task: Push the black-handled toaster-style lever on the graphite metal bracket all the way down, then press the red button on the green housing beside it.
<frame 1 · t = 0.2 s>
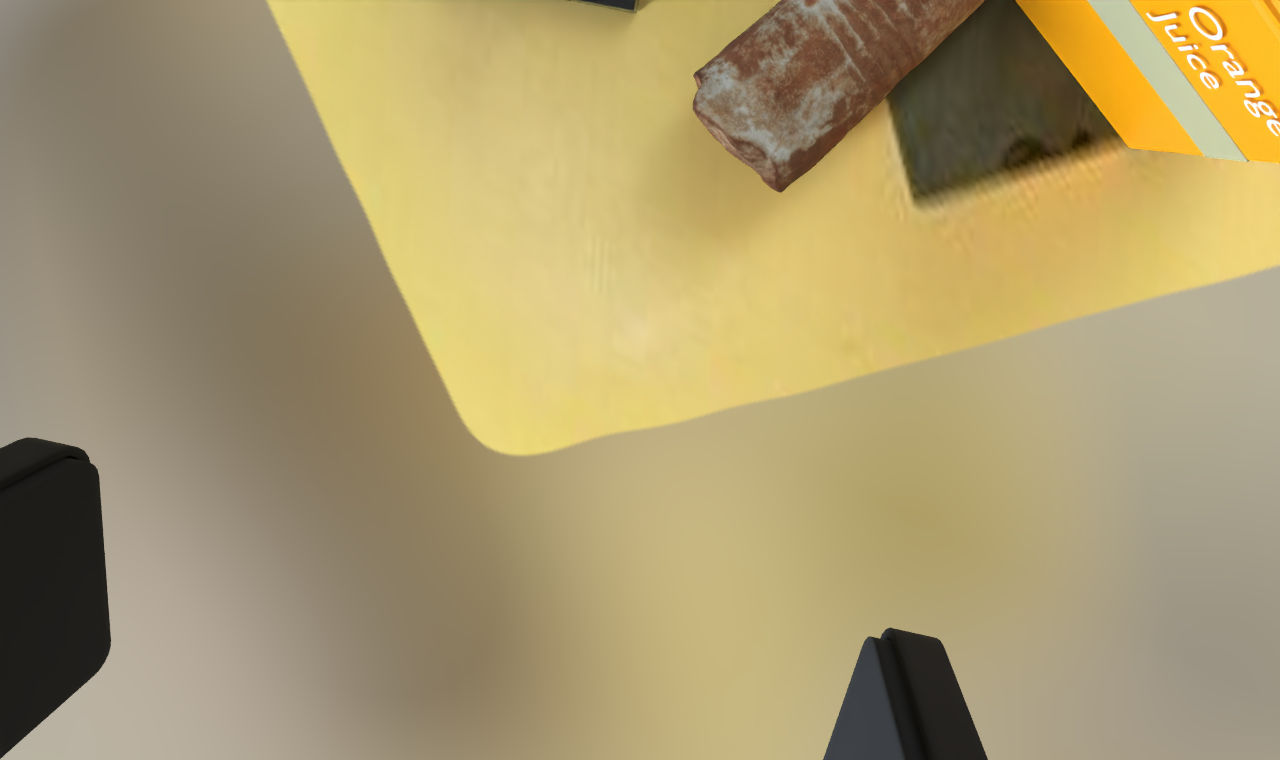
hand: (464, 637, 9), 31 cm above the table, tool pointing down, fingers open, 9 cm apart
orange juice: (1148, 6, 33), on the table
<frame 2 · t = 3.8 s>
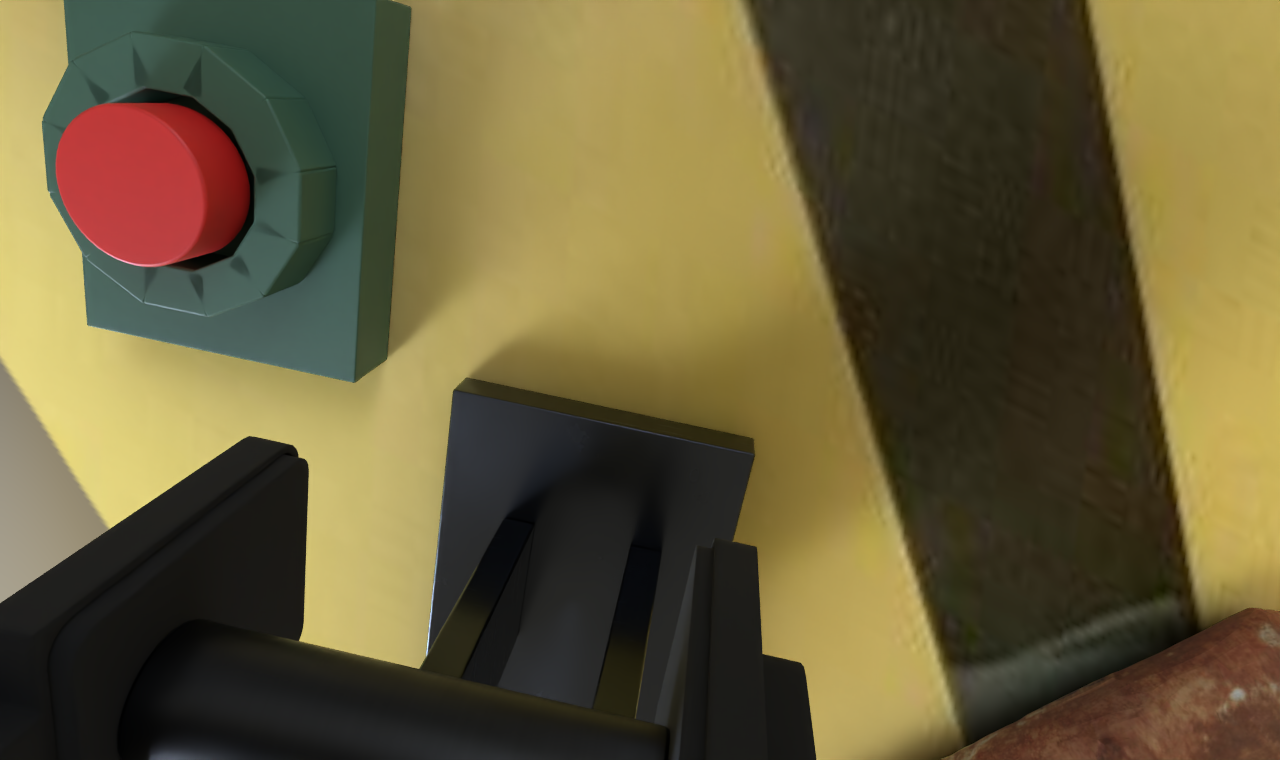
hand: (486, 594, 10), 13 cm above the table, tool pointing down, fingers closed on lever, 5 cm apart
button box: (265, 170, 22), on the table
bracket: (579, 571, 26), on the table
button: (156, 184, 18), point 4 cm above the table, slide at 0.1 cm
salami: (999, 739, 26), on the table
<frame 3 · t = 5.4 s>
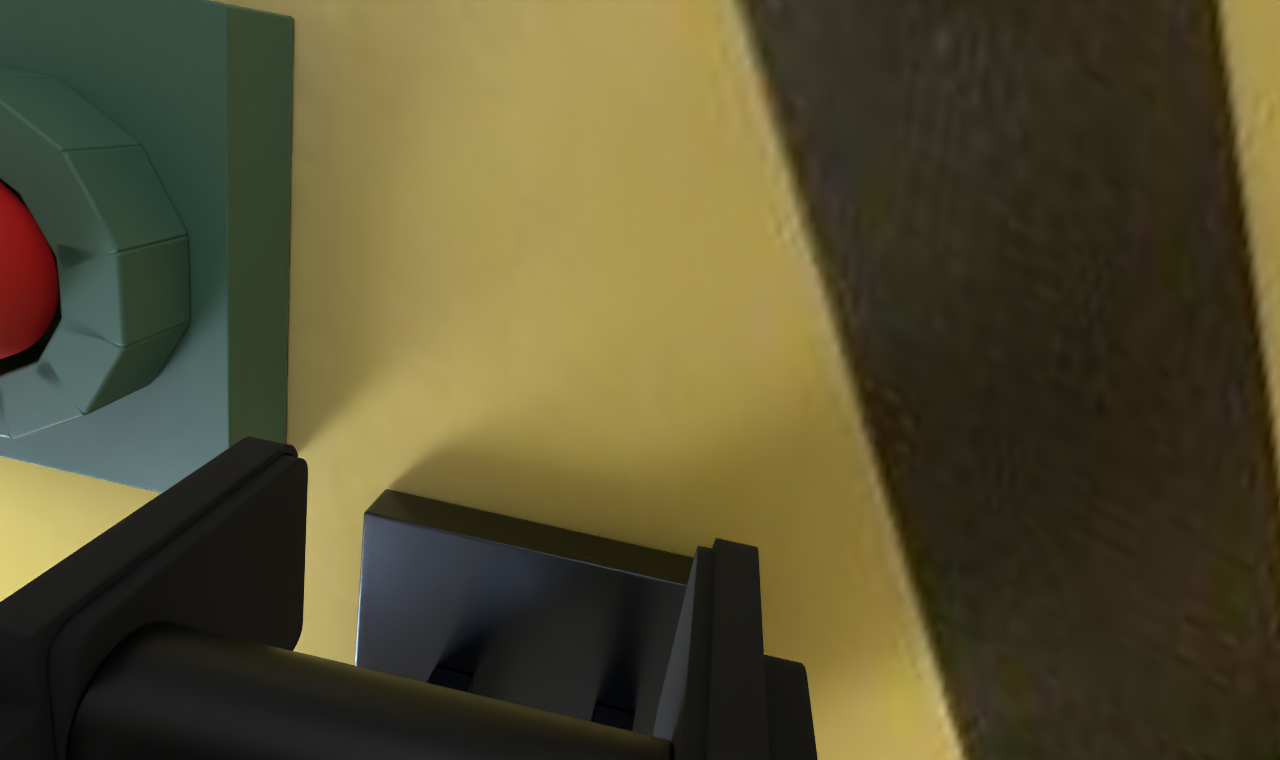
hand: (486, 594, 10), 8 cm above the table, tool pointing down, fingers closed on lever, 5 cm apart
button box: (117, 228, 17), on the table
bracket: (534, 720, 21), on the table
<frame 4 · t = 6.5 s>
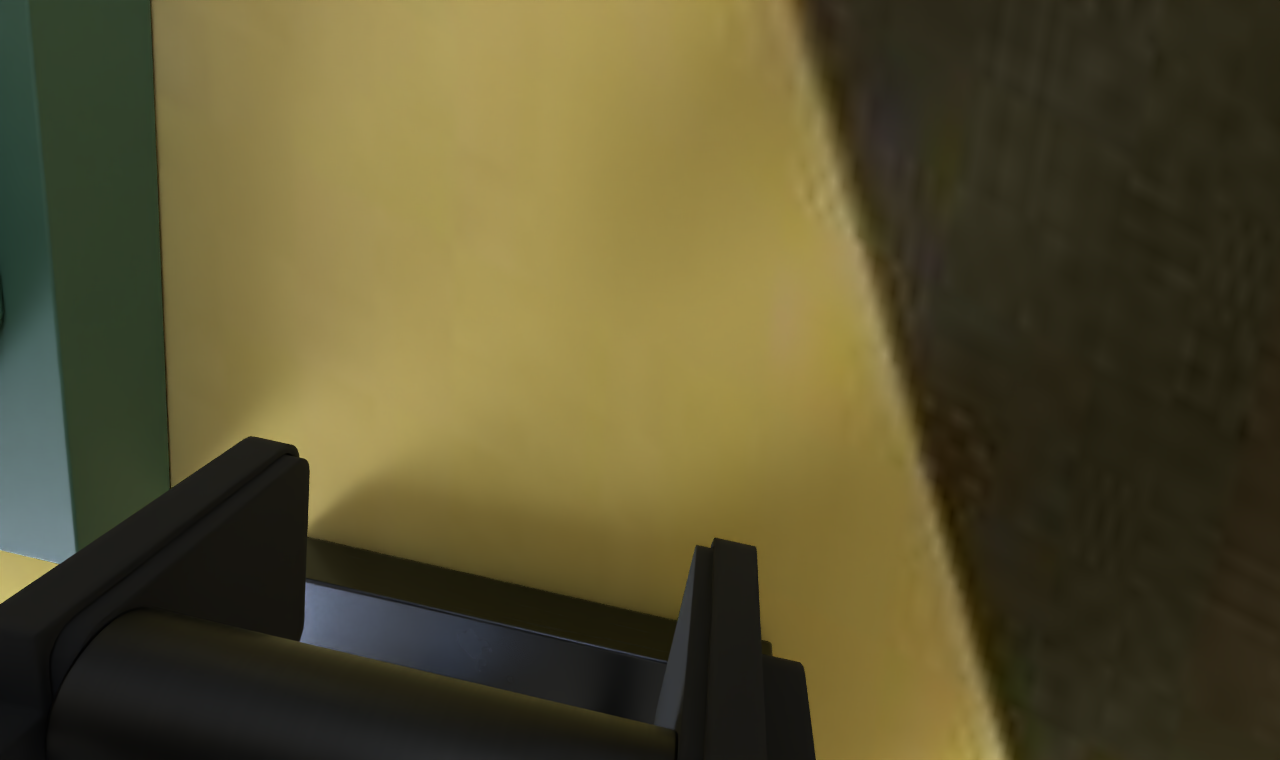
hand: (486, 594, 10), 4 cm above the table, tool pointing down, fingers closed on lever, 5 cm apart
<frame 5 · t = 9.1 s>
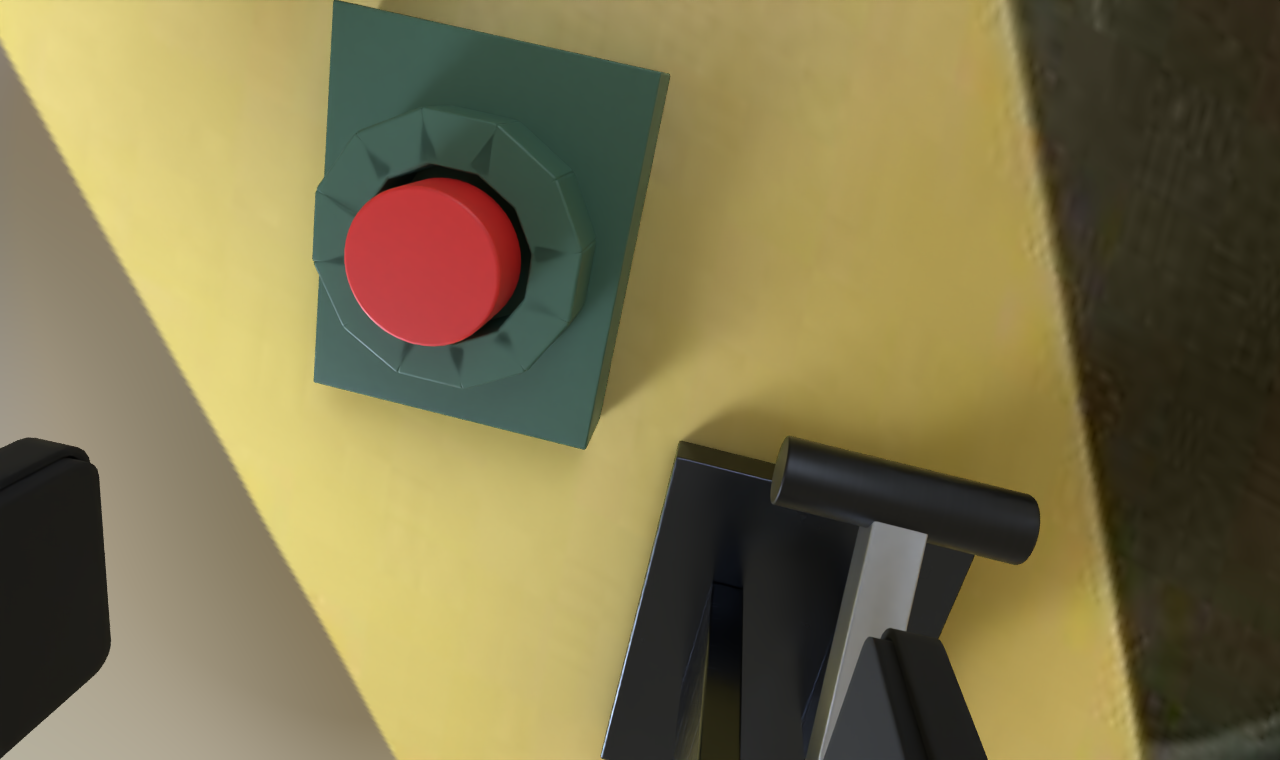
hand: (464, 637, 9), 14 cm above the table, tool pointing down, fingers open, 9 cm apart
button box: (495, 229, 22), on the table
bracket: (772, 632, 25), on the table
button: (435, 261, 18), point 4 cm above the table, slide at 0.1 cm
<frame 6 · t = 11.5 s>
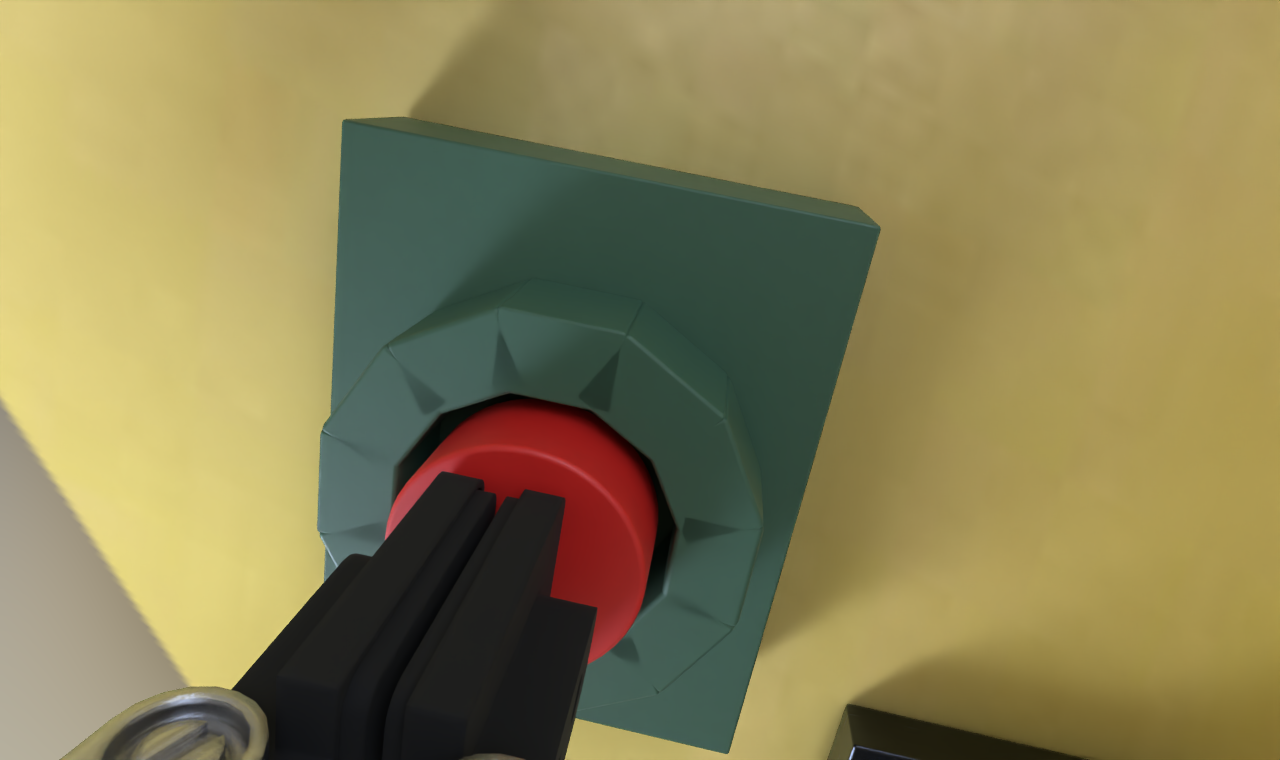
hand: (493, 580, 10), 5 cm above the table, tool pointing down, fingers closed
button box: (583, 424, 15), on the table
button: (528, 535, 11), point 4 cm above the table, slide at -0.3 cm, touching gripper
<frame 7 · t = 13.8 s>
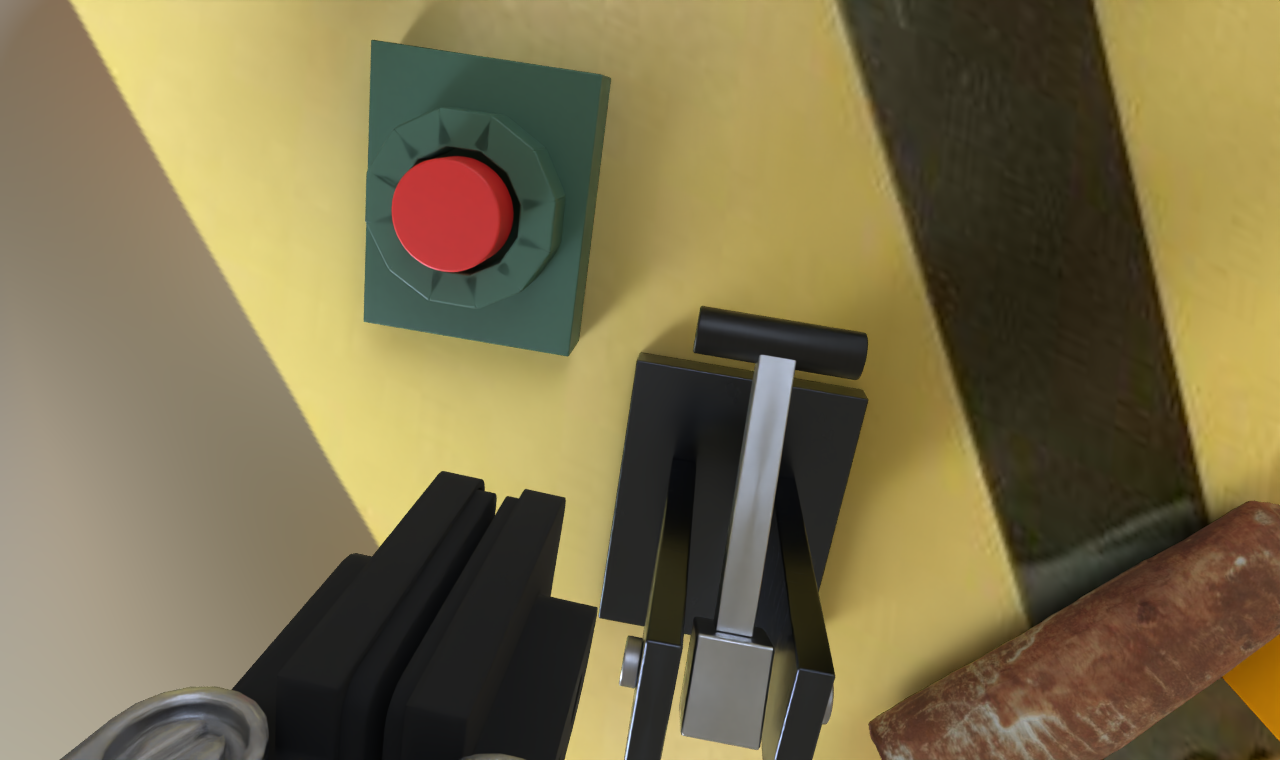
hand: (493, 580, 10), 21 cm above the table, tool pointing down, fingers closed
button box: (492, 200, 30), on the table
lever: (750, 519, 23), point 9 cm above the table, hinge at -24.2°
bracket: (724, 502, 33), on the table
button: (454, 213, 26), point 4 cm above the table, slide at 0.1 cm
salami: (1057, 623, 33), on the table
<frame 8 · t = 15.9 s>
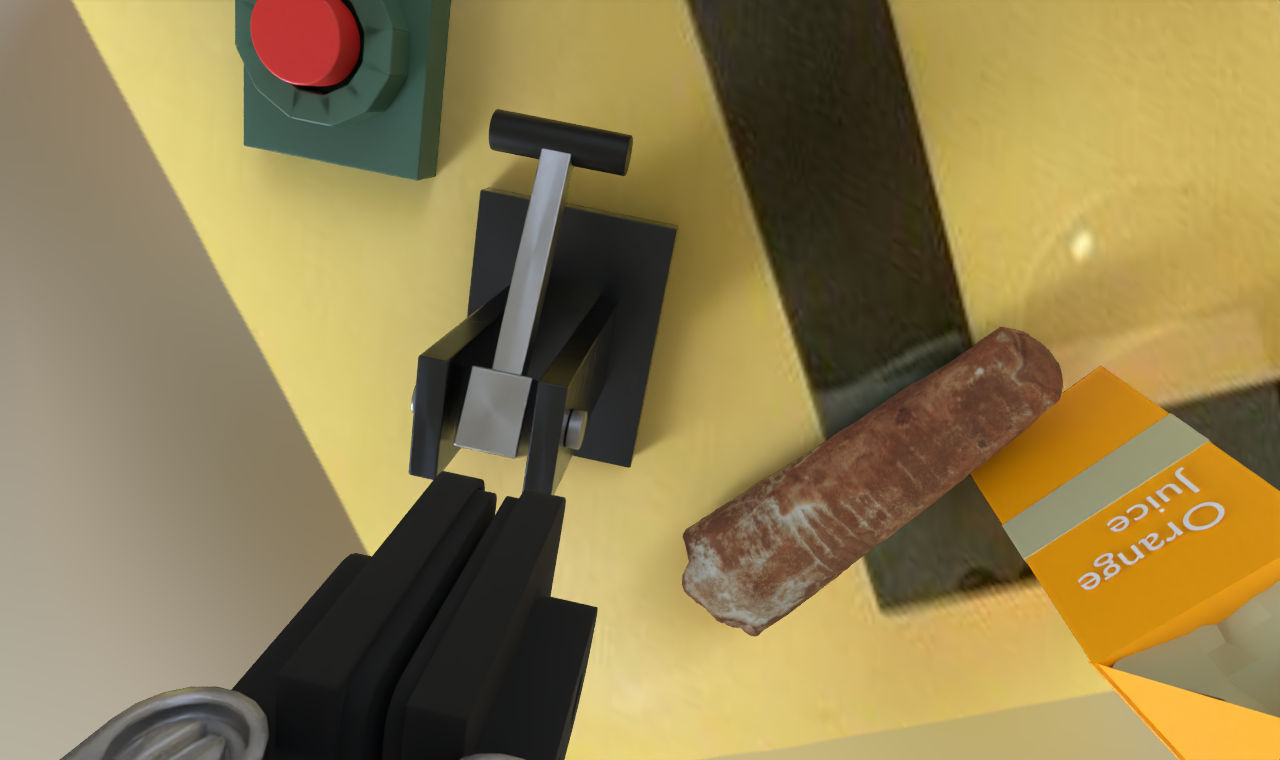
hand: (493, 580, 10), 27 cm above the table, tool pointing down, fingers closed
button box: (358, 45, 34), on the table
lever: (529, 285, 28), point 9 cm above the table, hinge at -24.2°
bracket: (564, 329, 38), on the table
button: (306, 36, 30), point 4 cm above the table, slide at 0.1 cm
orange juice: (1083, 476, 37), on the table
salami: (852, 447, 38), on the table
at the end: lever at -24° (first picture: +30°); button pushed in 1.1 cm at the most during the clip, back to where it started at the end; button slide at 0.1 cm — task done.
